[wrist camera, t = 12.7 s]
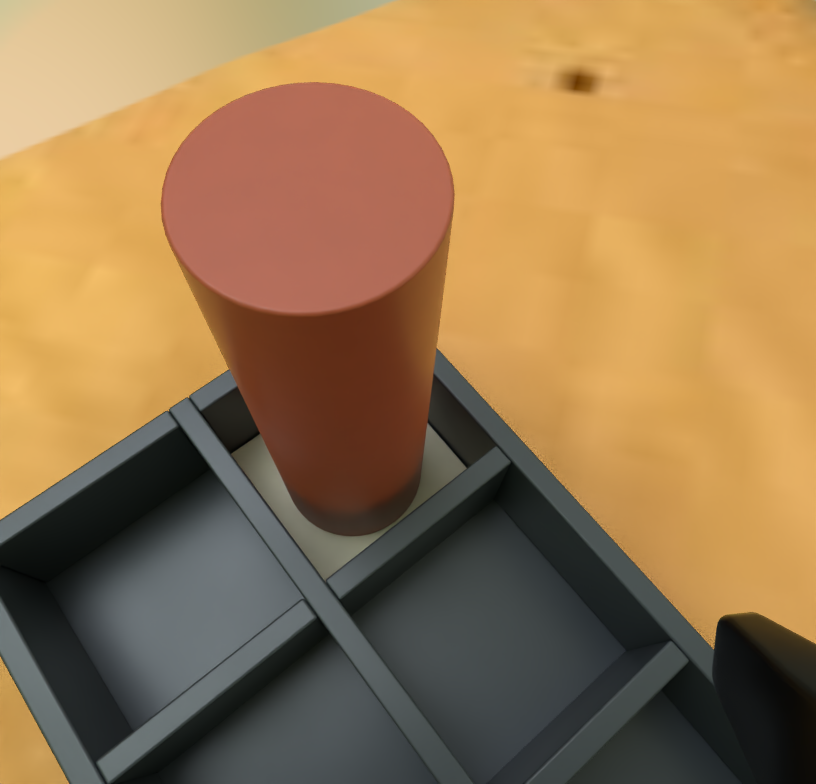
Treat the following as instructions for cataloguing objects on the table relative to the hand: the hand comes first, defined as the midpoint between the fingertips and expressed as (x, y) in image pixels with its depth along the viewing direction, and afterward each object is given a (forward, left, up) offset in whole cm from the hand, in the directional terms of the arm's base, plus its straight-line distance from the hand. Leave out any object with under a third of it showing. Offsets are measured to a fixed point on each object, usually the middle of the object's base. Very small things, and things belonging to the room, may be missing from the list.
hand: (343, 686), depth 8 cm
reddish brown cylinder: (+3, +5, -11) cm, 13 cm away
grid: (0, -1, -12) cm, 12 cm away
